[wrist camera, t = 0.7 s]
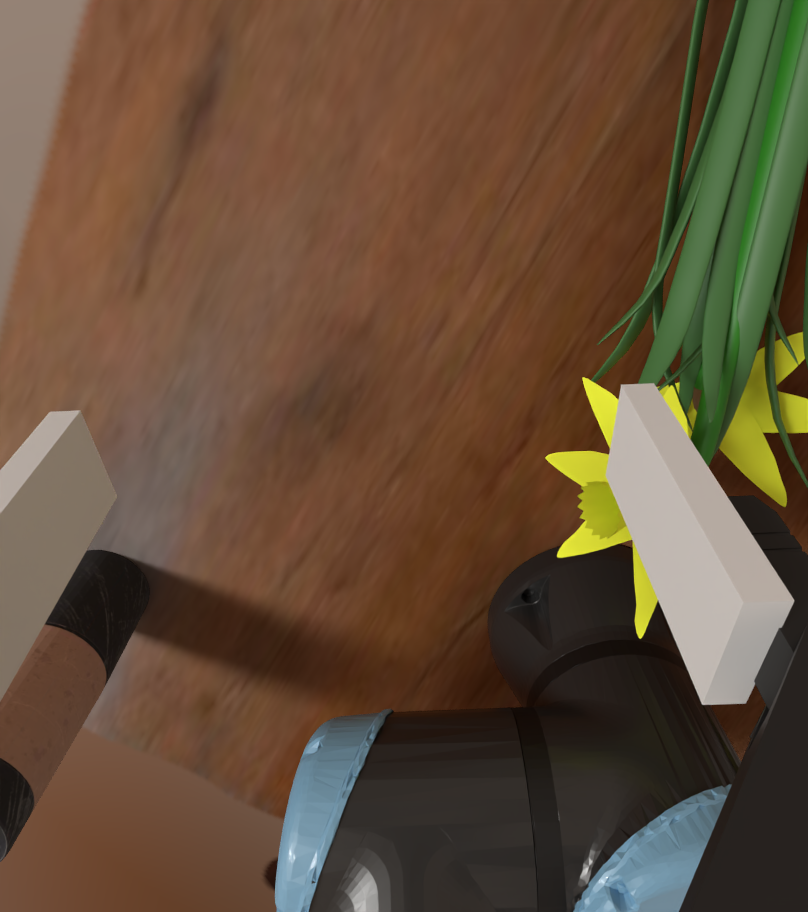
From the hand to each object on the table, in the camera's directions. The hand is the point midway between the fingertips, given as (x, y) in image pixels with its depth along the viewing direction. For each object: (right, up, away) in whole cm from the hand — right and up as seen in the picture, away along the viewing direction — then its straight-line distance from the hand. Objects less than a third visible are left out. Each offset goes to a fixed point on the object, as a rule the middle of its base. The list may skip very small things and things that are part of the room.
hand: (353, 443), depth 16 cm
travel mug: (-23, -11, +34) cm, 43 cm away
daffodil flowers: (+17, +13, +22) cm, 31 cm away
